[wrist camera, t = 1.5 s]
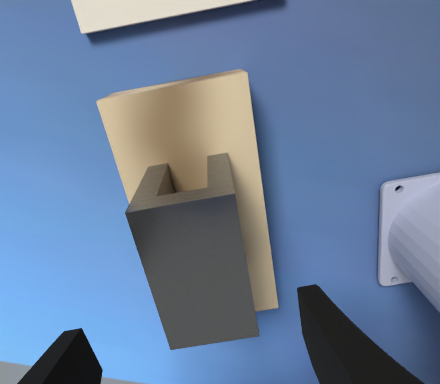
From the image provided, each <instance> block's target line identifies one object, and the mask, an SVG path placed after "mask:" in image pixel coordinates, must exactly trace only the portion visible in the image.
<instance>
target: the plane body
mask: <svg viewBox="0 0 440 384" xmlns="http://www.w3.org/2000/svg"><path fill="white" fill-rule="evenodd" d="M96 102H97V105H98V108H99V111H100V114H101V117H102V120H103V124H104V127H105V130H106V133H107V136H108V139H109V142H110V145H111V148H112V152H113V155H114V158H115V161H116V164H117V167H118V170H119V173H120V176H121V179H122V183H123V186H124V189H125V192H126V195H127V198H128V201H129V204H130V202H131V200H132V198H133V196H134V194H135V192H136V190H137V188H138V186H139V184H140V182H141V180H142V178H143V176H144V174H145V172H146V170H147V168H148V167H149V166H154V165H160V164H165V163H168V166H169V170H170V173H171V177H172V181H173V185H174V189H175V193H178V192H184V191H190V190H195V189H201V188H207V156H210V155H215V154H221V153H227V154H228V159H229V165H230V170H231V175H232V180H233V186H234V191H235V196H236V202H237V208H238V214H239V220H240V225H241V231H242V237H243V243H244V249H245V254H246V260H247V266H248V272H249V278H250V284H251V289H252V295H253V301H254V307H255V312H256V311H262V310H269V309H275V308H278V300H277V293H276V285H275V278H274V270H273V263H272V255H271V247H270V240H269V232H268V225H267V217H266V210H265V202H264V195H263V187H262V180H261V172H260V165H259V157H258V150H257V142H256V134H255V127H254V119H253V112H252V104H251V97H250V89H249V82H248V74H247V72H245V71H244V70H242V69H238V70H233V71H227V72H222V73H217V74H211V75H206V76H201V77H196V78H190V79H185V80H180V81H174V82H169V83H164V84H158V85H153V86H148V87H143V88H137V89H132V90H127V91H121V92H116V93H112V94H110V95H108V96H106V97H104V98H102V99H100V100H98V101H96Z"/></svg>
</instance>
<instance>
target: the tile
mask: <svg viewBox="0 0 440 384" xmlns="http://www.w3.org/2000/svg"><path fill="white" fill-rule="evenodd" d="M71 1H72V4H73V8H74V11H75V14H76V17H77V20H78V24H79V27H80V30H81V33H82V34H89V33H94V32H100V31H105V30H110V29H115V28H120V27H125V26H130V25H135V24H140V23H145V22H150V21H155V20H161V19H166V18H171V17H176V16H181V15H186V14H191V13H196V12H201V11H206V10H211V9H216V8H222V7H227V6H232V5H237V4H242V3H247V2H252V1H257V0H71Z"/></svg>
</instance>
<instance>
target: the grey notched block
mask: <svg viewBox="0 0 440 384" xmlns="http://www.w3.org/2000/svg"><path fill="white" fill-rule="evenodd" d="M125 214H126V217H127V220H128V223H129V226H130V229H131V232H132V235H133V238H134V241H135V244H136V247H137V250H138V253H139V256H140V259H141V262H142V265H143V268H144V271H145V274H146V277H147V280H148V283H149V286H150V289H151V292H152V295H153V298H154V301H155V304H156V307H157V310H158V313H159V316H160V319H161V322H162V325H163V328H164V331H165V334H166V337H167V340H168V343H169V346H170V349H171V350H174V349H180V348H186V347H193V346H199V345H206V344H212V343H218V342H225V341H231V340H237V339H244V338H250V337H256V336H259V330H258V324H257V318H256V313H255V307H254V301H253V295H252V289H251V284H250V278H249V272H248V266H247V260H246V254H245V249H244V243H243V237H242V231H241V225H240V220H239V214H238V208H237V202H236V196H235V191H234V186H233V180H232V175H231V170H230V165H229V159H228V154H227V153H221V154H215V155H210V156H207V188H201V189H195V190H190V191H184V192H178V193H175V189H174V185H173V181H172V177H171V173H170V170H169V166H168V163H165V164H160V165H154V166H149V167H148V168H147V170H146V172H145V174H144V176H143V178H142V180H141V182H140V184H139V186H138V188H137V190H136V192H135V194H134V196H133V198H132V200H131V202H130V204H129V206H128V208H127V210H126V212H125Z"/></svg>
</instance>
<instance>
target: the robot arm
mask: <svg viewBox="0 0 440 384" xmlns="http://www.w3.org/2000/svg"><path fill="white" fill-rule="evenodd" d="M399 185H400V188H399V189H398V190H396V191H395V188H396V187H397V186H399ZM392 277H394V278H393V279H391V278H392ZM378 282H379V283H380V284H381V285H382V286H390V285H396V284H402V283H409V282H413V283H414V284H415V285H416V286H417V288H418V289H419V290H420V291H421V292H422V293H423V294H424V295H425V297H426V298H427V299H428V300H429V301H430V302H431V303H432V305H433V306H434V307H435V308H436V309H437V310H438V311H439V313H440V172H439V173H434V174H428V175H422V176H416V177H411V178H405V179H399V180H393V181H388V182H385V183H384V184H383V185H382V186H381V188H380V211H379V246H378ZM297 292H298V301H299V309H300V318H301V326H302V334H303V337H304V340H305V344H306V347H307V350H308V353H309V357H310V360H311V363H312V366H313V368H314V371H315V373H316V376H317V378H318V380H319V383H320V384H424V383H423V382H422V381H420V380H419V379H418V378H417V377H415V376H414V375H413V374H411V373H410V372H409V371H407V370H406V369H405V368H404V367H402V366H401V365H400V364H399V363H398V362H396V361H395V360H394V359H393V358H392V357H390V356H389V355H388V354H387V353H386V352H385V351H383V350H382V349H381V348H380V347H379V346H378V345H376V344H375V343H374V342H373V341H372V340H371V339H370V338H369V337H368V336H366V335H365V334H364V333H363V332H362V331H361V330H360V329H359V328H358V327H357V326H356V325H355V324H354V323H353V322H352V321H351V320H350V319H349V318H348V317H347V316H346V315H345V314H344V313H343V312H342V311H341V310H340V309H339V308H338V307H337V306H336V305H335V304H334V303H333V302H332V301H331V300H330V299H329V297H328V296H327V295H326V294H325V293H324V292H323V291H322V289H321V288H320V287H319V286H317V285H316V284H315V285H309V286H304V287H299V288H297ZM101 377H102V368H101V366H100V364H99V362H98V360H97V358H96V356H95V354H94V352H93V350H92V348H91V346H90V344H89V342H88V340H87V338H86V336H85V334H84V332H83V330H82V328H80V329H74V330H69V331H64V332H63V333H62V334H61V335H60V336H59V337H58V338H57V339H56V340H55V342H54V343H53V344H52V345H51V346H50V347H49V348H48V349H47V351H46V352H45V353H44V354H43V355H42V356H41V357H40V359H39V360H38V361H37V362H36V363H35V364H34V365H33V367H32V368H31V369H30V370H29V371H28V372H27V373H26V374H25V376H24V377H23V378H22V379H21V380H20V381H19V382H18V383H17V384H100V383H101Z"/></svg>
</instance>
